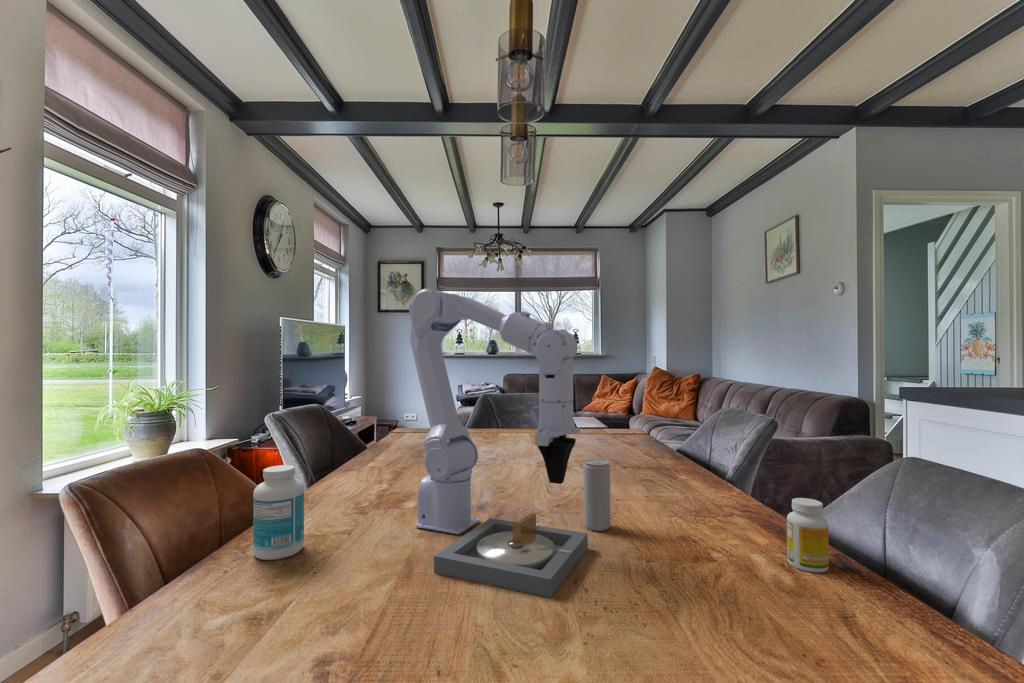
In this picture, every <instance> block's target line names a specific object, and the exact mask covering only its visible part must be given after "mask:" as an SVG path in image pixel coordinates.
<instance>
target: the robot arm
mask: <svg viewBox="0 0 1024 683" xmlns="http://www.w3.org/2000/svg"><path fill="white" fill-rule="evenodd" d="M408 311H409V315H410V319H411V326H410V334H409V336H410V337H409V339H410V340H409V341H410V347H411V351H412V355H413V360H414V363H415V367H416V368H415V369H416V371H417V376H418V381H419V384H420V389H421V393H422V398H423V402H424V406H425V411H426V415H427V419H428V423H429V427H430V429H429V432H428V434H427V435H426V437H425V439H424V441H423V446H424V458H423V463H424V464H423V465H424V468H425V471H426V472H427V475H425V476H424V477H423V478H422V480H421V481H420V484H419V487H418V491H417V492H418V493H417V494H418V495H417V496H418V497H417V500H418V501H417V523H416V524H415V528H418V529H419V528H420V529H424V530H430V531H431V530H432V531H435V532H442V533H449V534H453V535H461V534H462V533H464V532H465V531H467V530H469V529H470V528H471V527H473V526H474V525H476V524H478V523H479V522H481V519H480V518H479V517H472V474H473V468H474V467H475V466H476V465H477V463H478V460H479V450H478V447H477V445H476V444H475V442H474V441H473V439H472V438H471V435H470V432H469V430H468V428H466V426H464V425H463V424H462V423H461V422H460V420H459V416H458V412H457V408H456V405H455V404H456V403H455V400H454V396H453V391H452V387H451V383H450V379H449V375H448V370H447V366H446V362H445V359H444V354H443V350H442V346H441V343H443V341H444V338H445V337H446V336H447V335H448V334H449V333H450V332H451V331H452V330H453V329H454V328H455V327H457V326H458V325H459V324H460V323H461V322H462V321H467V320H471V321H472V322H475V323H477V324H479V325H482V326H485V327H488V328H489V329H492V330H495V331H497V332H499V333H500V337H501V339H502V341H503V342H504V343H506V344H509V345H511V346H513V347H515V348H517V349H520V350H522V351H523V352H526V353H528V354H530V355H532V356H534V357H535V358H536V360H537V361H538V364H539V365H538V366H539V372H538V376H539V378H538V379H539V380H538V383H539V384H538V386H539V387H538V390H539V393H538V395H539V396H538V398H539V401H538V403H539V404H538V406H539V407H538V410H539V412H538V413H539V414H538V417H539V419H538V420H539V421H538V423H539V425H538V427H537V432H535V433H534V446H537V448H538V450H539V453H540V454H541V456H542V458H543V461H544V465H545V469H546V473H547V478H548V482H549V483H550V484H558V485H559V484H560V485H561V484H563V483H564V481H565V478H566V473H567V468H568V463H569V459H570V457H571V453H572V450H573V448H574V446H575V445H576V442H577V441H576V438H573V437H567V435H571V434H580V432H581V428H580V427H575V421H574V360H573V359H574V358H575V357H576V355H577V353H578V350H579V349H578V342H577V339H576V337H575V336H574V335H573V334H572V333H570V332H569V331H567V330H566V329H554V328H553V327H554V324H553V323H552V322H549V321H545V323H544V322H541V321H539V320H537V319H534V318H533V317H531V313H530V312H527V311H524V310H522V311H520V312H518V311H514V312H511V313H510V314H509V313H508V314H505V313H503V312H500V311H498V310H497V309H495V308H492V307H490V306H488V305H486V304H484V303H482V302H480V301H478V300H476V299H473V298H470V297H467V296H462V295H459V294H457V293H449V292H442V291H437V290H435V289H431V288H423V289H421V290H419V291H418V292H416V294H415V296H413V299H412V300H411V302H410V304H409V306H408Z"/></svg>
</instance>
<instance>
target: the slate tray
mask: <svg viewBox="0 0 1024 683" xmlns="http://www.w3.org/2000/svg"><path fill="white" fill-rule="evenodd" d="M509 531H513V521H512V520H511V521H510V520H502V519H497V518H490V517H489V518H488V519H487V520H485V521H484V522H482V523H481V524H479V525H478V526H477V527H475V528H473V529H472V530H470V531H469V532H467V533H466V534H464V535H463V536H461V537H460V538H458V539H457V540H456V541H455V542H452V543H451V544H450V545H448V546H446V547H445V548H443V549H442V550H441V551H439V552H438V553H436V554H435V555H434V556H433V573H435V574H438V575H442V576H447V577H453V578H457V579H462V580H466V581H470V582H475V583H481V584H485V585H489V586H493V587H498V588H503V589H507V590H508V589H509V590H512V591H515V592H516V591H517V592H521V593H526V594H530V595H535V596H540V597H545V598H549V599H550V598H552V597H553V595H554V594H555V593H556V592H557V590H558V589H559V587H560V586H561V585H562V584H563V582H564V580H565V579H566V578H567V577H568V575H569V574H570V573H571V571H572V570H573V568H574V567H575V566H576V565H577V563H578V561H579V560H580V559H581V558H582V556H583V555H584V554H585V552H586V551H587V550H588V548H589V547H588V545H589V542H588V539H589V538H588V532H582V531H577V530H575V531H574V530H568V529H562V528H557V527H550V526H542V525H539V523H536V534H539V535H542V536H545V537H547V538H548V539H550V540H551V541H552V542H553V544H554V557H553V558H552V559H551V560H550V561H549V562H548V564H547V565H546V566H544V567H542V568H538V569H532V568H527V567H522V566H517V565H511V564H506V563H501V562H496V561H491V560H486V559H480V558H477V543H478V542H479V541H480V540H481V539H482V538H484V537H486V536H489V535H492V534H495V533H500V532H509Z"/></svg>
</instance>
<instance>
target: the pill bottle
mask: <svg viewBox="0 0 1024 683" xmlns="http://www.w3.org/2000/svg"><path fill="white" fill-rule="evenodd" d="M295 476H296V467H295V465H292V464H282V465H281V464H279V465H272V466H267V467H266V468H264V469H262V477H263V480H264V481H263V482H261V483H259V484H258V485H256V487H255V488H254V490H253V493H252V494H253V495H252V497H253V500H252V501H253V506H252V509H253V513H252V514H253V516H252V519H253V520H252V522H253V523H252V524H253V525H252V529H253V530H252V533H253V534H252V540H253V541H252V551H253V552H252V554H253V556H255V558H257V559H259V560H264V561H274V560H281V559H286V558H289V557H292V556H294V555H296V554H298V553H299V552H300V551H301V550H302V549H303V548H304V544H305V486H304V483H303V482H302V481H301V480H300V479H297V478H294V477H295Z"/></svg>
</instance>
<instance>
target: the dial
mask: <svg viewBox="0 0 1024 683" xmlns="http://www.w3.org/2000/svg"><path fill="white" fill-rule="evenodd" d="M512 522H513V531H509V532H500V533H495V534H492V535H489V536H486V537H484V538H482V539H481V540H480V541H479V542H478V543H477V558H480V559H486V560H491V561H496V562H501V563H506V564H511V565H517V566H522V567H527V568H532V569H538V568H542V567H544V566H546V565H547V564H548V562H549V561H550V560H551V559H552V558H553V557H554V544H553V542H552V541H551V540H550V539H548V538H547V537H545V536H542V535H539V534H536V524H537V512H532V511H527V512H526V513H524V514H523V515H521V516H520V517H518V518H516V519H515V520H513V521H512Z"/></svg>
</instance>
